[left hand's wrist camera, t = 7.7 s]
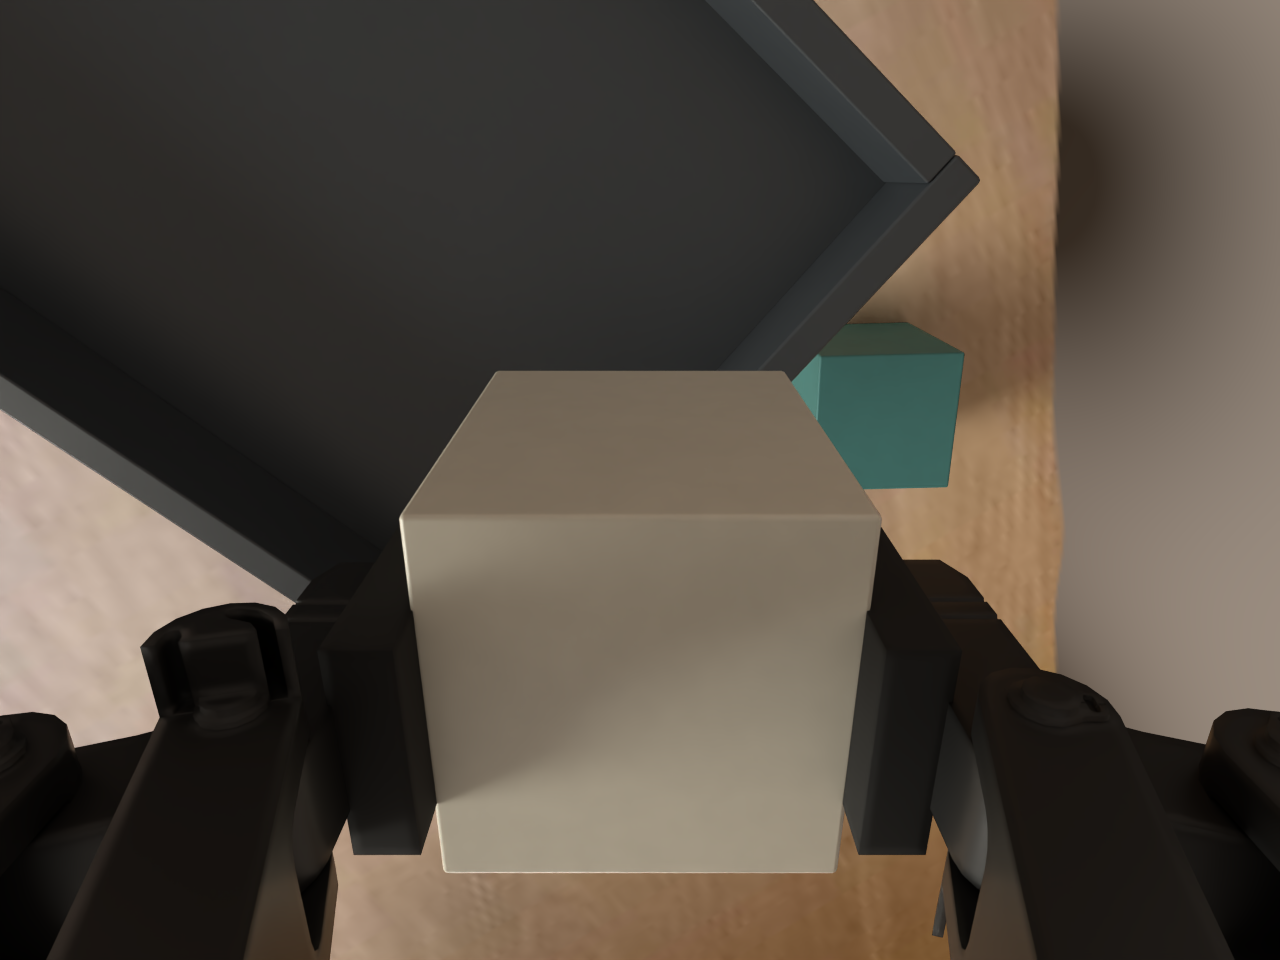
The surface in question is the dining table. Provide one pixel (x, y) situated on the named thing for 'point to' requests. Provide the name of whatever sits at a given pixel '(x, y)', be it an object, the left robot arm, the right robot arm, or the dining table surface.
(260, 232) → the tray
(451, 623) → the beige block
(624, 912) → the dining table surface
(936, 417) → the teal block
